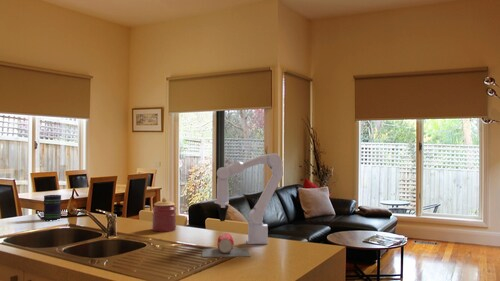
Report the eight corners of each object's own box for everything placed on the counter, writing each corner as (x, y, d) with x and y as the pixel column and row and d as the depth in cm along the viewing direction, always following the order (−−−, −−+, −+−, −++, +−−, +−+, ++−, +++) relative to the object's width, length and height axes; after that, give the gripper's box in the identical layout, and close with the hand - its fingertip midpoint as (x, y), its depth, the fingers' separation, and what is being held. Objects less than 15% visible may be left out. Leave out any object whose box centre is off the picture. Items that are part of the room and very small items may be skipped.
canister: (179, 230, 230) (180, 198, 230) (157, 233, 222) (157, 199, 223) (170, 226, 240) (170, 195, 241) (148, 229, 233) (148, 197, 234)
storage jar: (39, 220, 256) (40, 196, 256) (49, 218, 265) (50, 194, 266) (54, 221, 254) (55, 196, 254) (64, 218, 264) (64, 195, 264)
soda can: (226, 250, 189) (226, 257, 177) (214, 240, 189) (213, 246, 177) (236, 238, 190) (237, 245, 178) (224, 228, 189) (224, 234, 178)
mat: (247, 248, 189) (247, 248, 189) (250, 256, 175) (250, 255, 175) (202, 249, 187) (202, 248, 187) (202, 257, 173) (202, 256, 173)
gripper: (214, 190, 208) (213, 218, 208) (214, 194, 193) (214, 223, 193) (228, 190, 208) (228, 218, 208) (229, 194, 194) (229, 223, 194)
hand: (222, 220), depth 201 cm, fingers closed
